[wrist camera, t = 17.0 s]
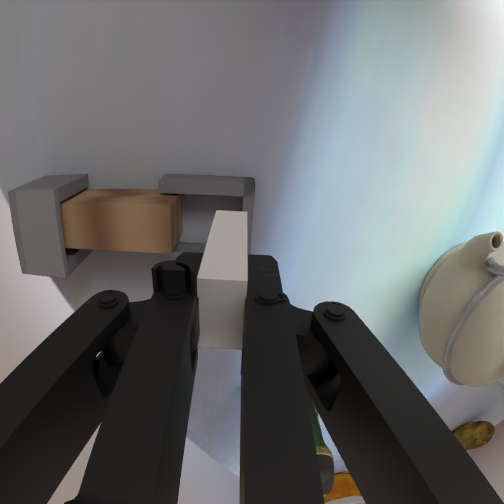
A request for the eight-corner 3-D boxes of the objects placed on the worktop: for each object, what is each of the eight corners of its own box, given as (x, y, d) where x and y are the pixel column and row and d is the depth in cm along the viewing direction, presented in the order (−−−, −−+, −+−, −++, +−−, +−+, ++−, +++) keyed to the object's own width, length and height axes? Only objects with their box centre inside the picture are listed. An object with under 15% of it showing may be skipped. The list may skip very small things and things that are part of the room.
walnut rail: (182, 190, 32) (170, 205, 26) (182, 231, 34) (171, 254, 28) (66, 189, 31) (38, 204, 26) (69, 226, 33) (44, 246, 27)
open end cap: (254, 178, 31) (255, 182, 29) (247, 258, 35) (248, 268, 33) (165, 174, 31) (159, 178, 29) (166, 253, 34) (161, 263, 32)
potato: (445, 428, 54) (457, 453, 47) (487, 407, 53) (501, 429, 46) (439, 444, 57) (449, 467, 50) (479, 424, 56) (491, 445, 49)
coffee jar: (250, 403, 45) (255, 511, 28) (242, 368, 42) (245, 490, 25) (313, 395, 45) (336, 500, 28) (313, 359, 41) (342, 476, 24)
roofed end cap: (87, 174, 30) (53, 189, 24) (93, 249, 34) (66, 278, 27) (45, 175, 30) (8, 191, 23) (53, 246, 33) (22, 273, 27)
